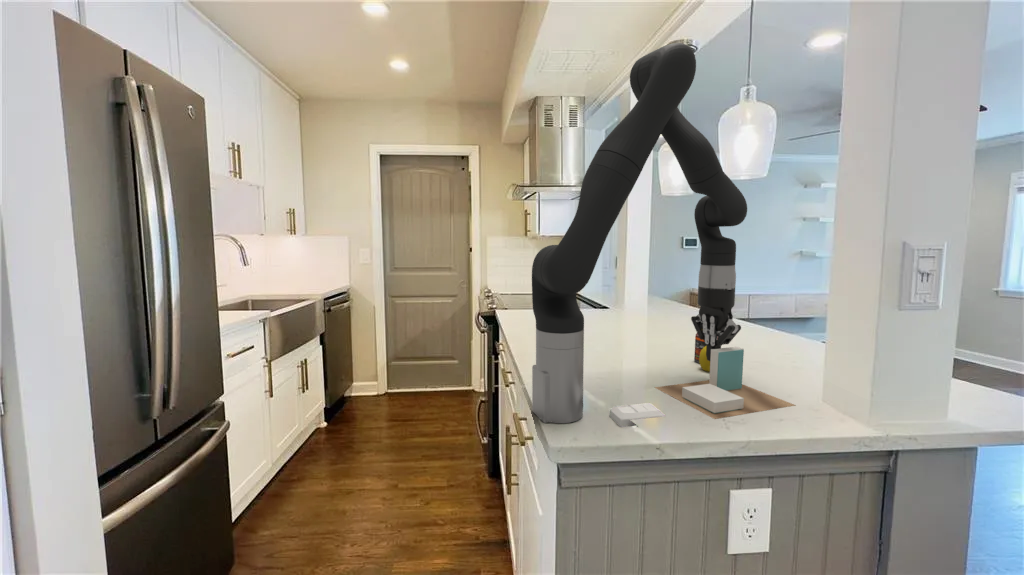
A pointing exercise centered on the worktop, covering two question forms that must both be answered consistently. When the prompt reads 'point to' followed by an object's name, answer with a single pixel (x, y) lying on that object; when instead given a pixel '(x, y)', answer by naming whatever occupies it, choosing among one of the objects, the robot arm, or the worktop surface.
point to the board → (752, 397)
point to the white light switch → (633, 413)
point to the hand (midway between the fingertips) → (712, 360)
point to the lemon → (704, 360)
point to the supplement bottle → (699, 347)
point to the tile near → (712, 398)
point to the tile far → (726, 368)
